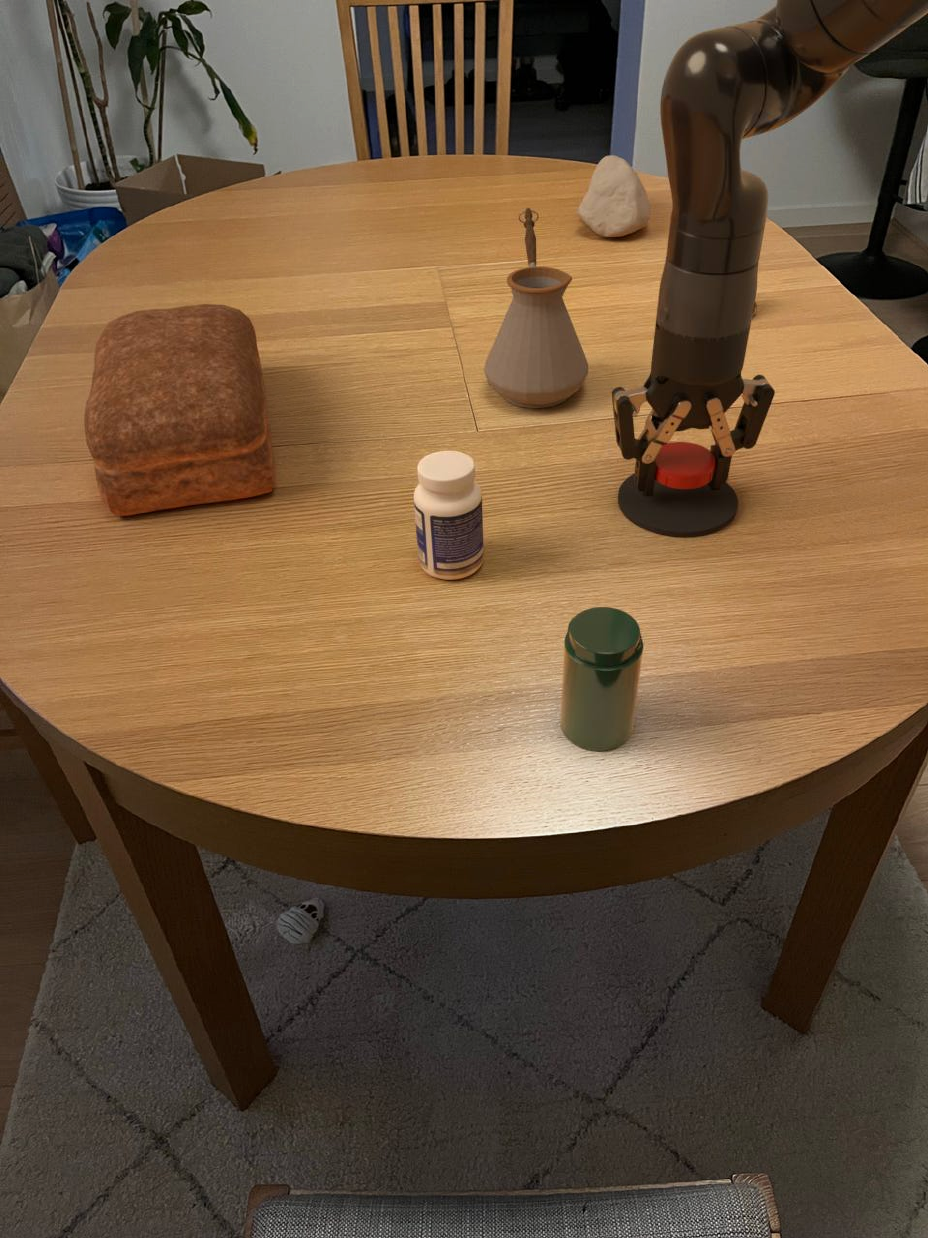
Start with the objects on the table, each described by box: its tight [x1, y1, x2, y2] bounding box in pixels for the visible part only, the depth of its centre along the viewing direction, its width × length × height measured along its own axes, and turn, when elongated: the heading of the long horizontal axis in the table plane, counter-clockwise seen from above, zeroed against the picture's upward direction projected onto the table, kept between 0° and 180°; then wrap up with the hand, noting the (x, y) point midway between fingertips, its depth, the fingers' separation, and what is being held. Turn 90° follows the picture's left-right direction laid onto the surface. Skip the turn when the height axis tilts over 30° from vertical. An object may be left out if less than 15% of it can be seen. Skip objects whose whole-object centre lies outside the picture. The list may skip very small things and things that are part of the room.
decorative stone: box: [576, 154, 652, 238], centre depth 141 cm, size 17×10×10 cm
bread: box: [83, 303, 275, 518], centre depth 95 cm, size 17×29×11 cm, turn 12°
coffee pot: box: [483, 207, 590, 409], centre depth 103 cm, size 21×12×15 cm, turn 1°
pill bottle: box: [413, 450, 485, 581], centre depth 78 cm, size 6×6×10 cm
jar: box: [559, 606, 644, 752], centre depth 64 cm, size 5×5×9 cm
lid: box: [655, 441, 716, 489], centre depth 85 cm, size 6×6×2 cm
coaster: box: [617, 472, 739, 538], centre depth 87 cm, size 11×11×1 cm
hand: (679, 488), depth 86 cm, fingers closed on lid, 5 cm apart
